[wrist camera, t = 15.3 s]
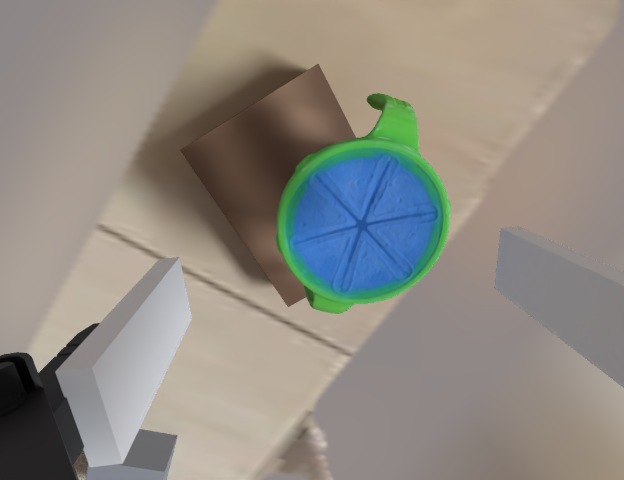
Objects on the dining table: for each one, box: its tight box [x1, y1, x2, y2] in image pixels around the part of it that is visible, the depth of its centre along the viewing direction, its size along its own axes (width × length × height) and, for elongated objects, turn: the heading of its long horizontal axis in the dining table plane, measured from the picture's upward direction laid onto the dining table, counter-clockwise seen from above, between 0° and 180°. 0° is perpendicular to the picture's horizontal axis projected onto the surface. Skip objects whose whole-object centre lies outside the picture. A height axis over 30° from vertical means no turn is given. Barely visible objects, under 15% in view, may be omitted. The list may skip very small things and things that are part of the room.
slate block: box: [86, 429, 177, 480], centre depth 42 cm, size 8×8×5 cm
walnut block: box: [180, 64, 356, 307], centre depth 33 cm, size 13×17×5 cm
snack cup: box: [276, 93, 450, 314], centre depth 26 cm, size 16×10×10 cm
